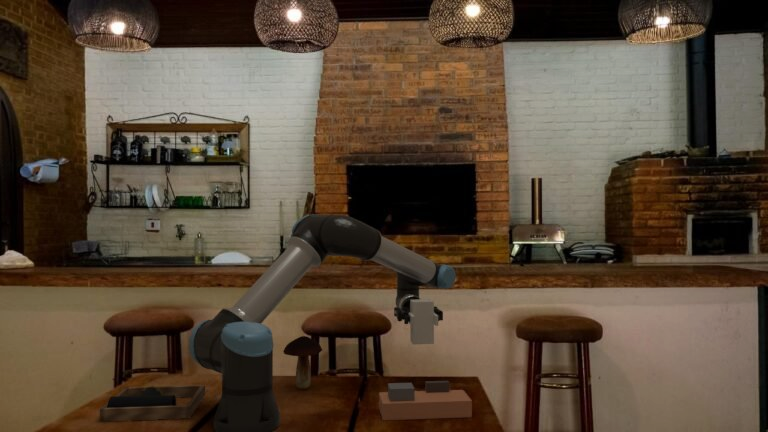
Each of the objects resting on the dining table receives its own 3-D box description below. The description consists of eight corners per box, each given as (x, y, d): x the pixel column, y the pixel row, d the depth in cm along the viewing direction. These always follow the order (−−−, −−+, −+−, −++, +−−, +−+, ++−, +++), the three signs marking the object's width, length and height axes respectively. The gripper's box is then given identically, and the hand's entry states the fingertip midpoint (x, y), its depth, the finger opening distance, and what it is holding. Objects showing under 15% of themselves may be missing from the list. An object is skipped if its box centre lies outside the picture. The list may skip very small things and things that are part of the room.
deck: (382, 420, 139) (382, 391, 139) (376, 399, 155) (376, 373, 155) (471, 417, 141) (471, 388, 141) (456, 396, 157) (456, 371, 157)
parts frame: (99, 421, 138) (99, 409, 138) (125, 398, 156) (125, 387, 156) (189, 418, 140) (190, 406, 140) (205, 395, 158) (205, 385, 158)
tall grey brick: (413, 344, 163) (412, 302, 163) (410, 340, 168) (410, 299, 168) (434, 343, 164) (433, 301, 164) (430, 340, 169) (430, 299, 169)
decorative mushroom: (308, 396, 157) (308, 341, 157) (275, 391, 162) (275, 338, 162) (329, 386, 167) (329, 334, 167) (298, 381, 172) (298, 331, 172)
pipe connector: (124, 385, 151) (183, 383, 152) (124, 405, 151) (183, 403, 152) (106, 399, 140) (170, 398, 141) (106, 421, 140) (170, 420, 141)
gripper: (441, 318, 185) (458, 333, 162) (382, 320, 183) (391, 335, 160) (441, 295, 185) (458, 306, 162) (382, 296, 183) (391, 308, 160)
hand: (425, 321), depth 161 cm, fingers closed on tall grey brick, 6 cm apart
